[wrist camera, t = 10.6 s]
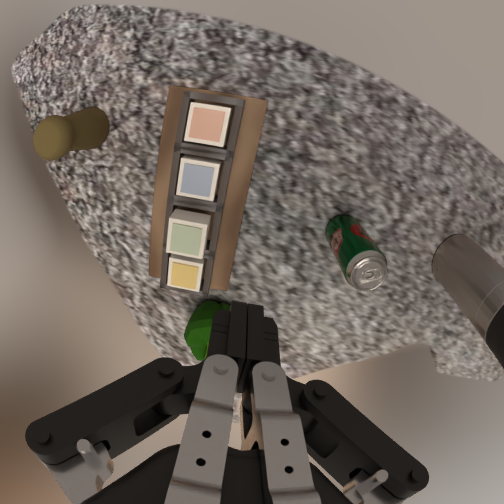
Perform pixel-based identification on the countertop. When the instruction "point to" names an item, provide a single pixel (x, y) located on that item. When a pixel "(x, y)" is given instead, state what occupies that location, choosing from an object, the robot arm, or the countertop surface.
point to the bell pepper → (202, 327)
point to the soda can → (356, 253)
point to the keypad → (229, 185)
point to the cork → (70, 133)
